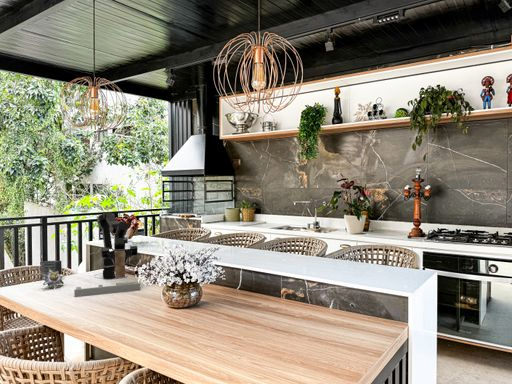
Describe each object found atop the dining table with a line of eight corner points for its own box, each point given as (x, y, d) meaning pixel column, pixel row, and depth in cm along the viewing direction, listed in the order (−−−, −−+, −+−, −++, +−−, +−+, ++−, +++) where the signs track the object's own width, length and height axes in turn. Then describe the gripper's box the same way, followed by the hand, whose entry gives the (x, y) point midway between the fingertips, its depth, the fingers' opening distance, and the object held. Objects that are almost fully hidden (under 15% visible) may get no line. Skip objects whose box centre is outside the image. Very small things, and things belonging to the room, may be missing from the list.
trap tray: (138, 284, 222) (138, 278, 222) (140, 290, 210) (140, 283, 210) (76, 290, 211) (76, 284, 211) (74, 296, 199) (74, 290, 199)
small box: (62, 276, 248) (62, 260, 248) (56, 279, 241) (55, 262, 241) (46, 276, 249) (46, 260, 249) (40, 279, 242) (39, 262, 242)
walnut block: (125, 275, 216) (124, 250, 216) (125, 277, 211) (124, 251, 211) (115, 276, 214) (114, 250, 214) (115, 278, 210) (114, 252, 210)
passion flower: (55, 298, 218) (44, 283, 211) (43, 292, 223) (32, 278, 216) (71, 283, 225) (61, 269, 218) (59, 278, 230) (50, 263, 223)
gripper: (101, 233, 214) (100, 256, 204) (136, 231, 220) (138, 253, 210) (102, 245, 221) (101, 269, 211) (136, 243, 227) (138, 266, 217)
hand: (120, 264), depth 212 cm, fingers closed on walnut block, 5 cm apart
